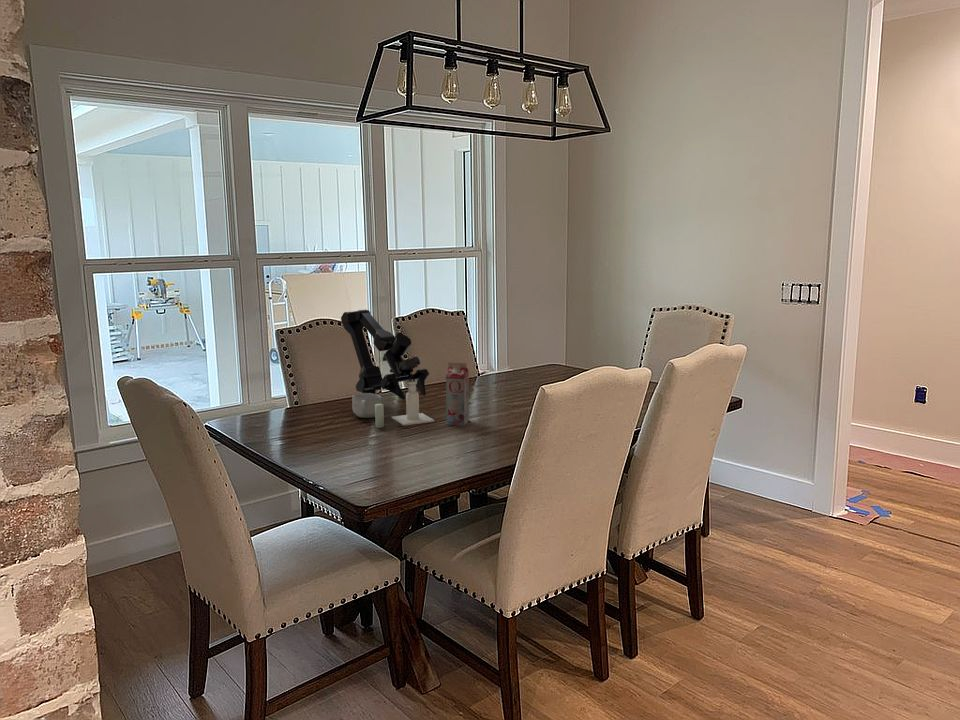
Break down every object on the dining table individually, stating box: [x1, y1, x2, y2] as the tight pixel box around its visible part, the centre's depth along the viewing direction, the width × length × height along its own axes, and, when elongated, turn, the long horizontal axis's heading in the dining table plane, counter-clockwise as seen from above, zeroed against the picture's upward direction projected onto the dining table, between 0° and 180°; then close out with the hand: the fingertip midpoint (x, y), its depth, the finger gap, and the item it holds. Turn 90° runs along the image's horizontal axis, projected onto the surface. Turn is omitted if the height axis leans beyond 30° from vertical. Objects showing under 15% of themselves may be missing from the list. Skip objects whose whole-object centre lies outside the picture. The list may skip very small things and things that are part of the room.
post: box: [374, 403, 385, 429], centre depth 269 cm, size 3×3×8 cm
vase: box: [405, 380, 420, 420], centre depth 278 cm, size 5×5×14 cm
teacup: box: [351, 392, 382, 419], centre depth 283 cm, size 14×11×8 cm
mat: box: [391, 412, 435, 426], centre depth 279 cm, size 12×12×1 cm
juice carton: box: [445, 362, 470, 426], centre depth 273 cm, size 7×7×22 cm
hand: (414, 397), depth 276 cm, fingers open, 9 cm apart
